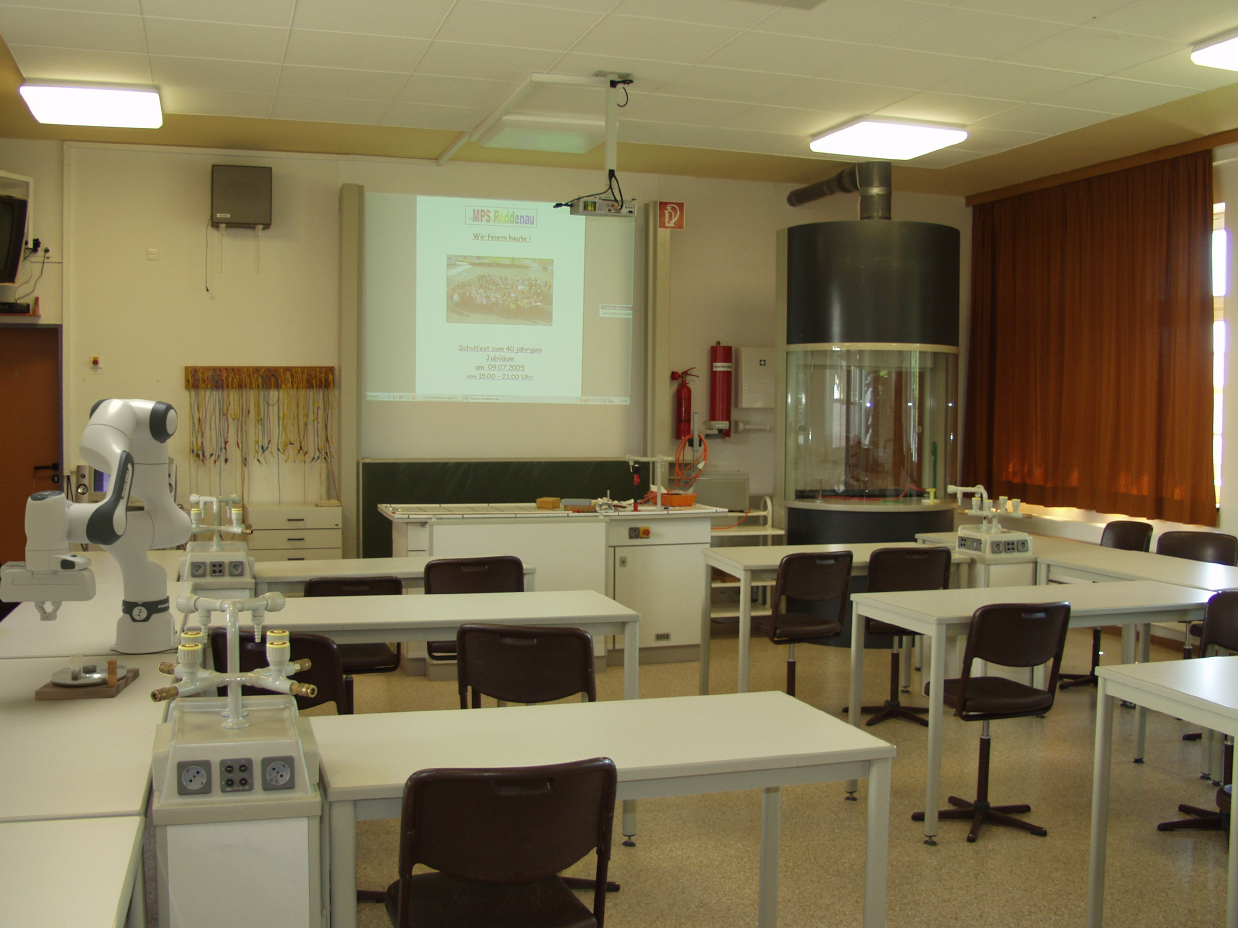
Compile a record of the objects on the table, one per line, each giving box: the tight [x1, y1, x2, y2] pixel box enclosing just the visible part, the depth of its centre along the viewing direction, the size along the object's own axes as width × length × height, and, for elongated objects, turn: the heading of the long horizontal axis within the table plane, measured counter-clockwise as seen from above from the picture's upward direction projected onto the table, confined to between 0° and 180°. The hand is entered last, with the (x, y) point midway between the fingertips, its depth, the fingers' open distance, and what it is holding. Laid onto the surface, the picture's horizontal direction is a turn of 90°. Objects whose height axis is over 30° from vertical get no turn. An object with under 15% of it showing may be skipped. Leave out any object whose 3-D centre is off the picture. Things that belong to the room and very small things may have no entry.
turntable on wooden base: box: [34, 659, 141, 701], centre depth 243 cm, size 20×17×8 cm
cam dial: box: [51, 653, 128, 687], centre depth 243 cm, size 16×16×7 cm
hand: (48, 620), depth 235 cm, fingers closed
